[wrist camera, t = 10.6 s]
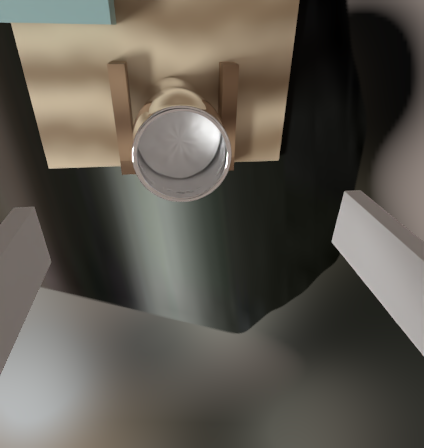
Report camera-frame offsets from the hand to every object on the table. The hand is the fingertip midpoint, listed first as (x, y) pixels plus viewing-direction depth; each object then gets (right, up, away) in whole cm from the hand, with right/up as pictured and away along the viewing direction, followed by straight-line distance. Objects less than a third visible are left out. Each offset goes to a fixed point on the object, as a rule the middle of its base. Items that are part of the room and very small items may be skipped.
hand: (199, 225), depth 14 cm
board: (-4, +15, +19) cm, 25 cm away
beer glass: (-4, +12, +20) cm, 24 cm away
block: (-12, +19, +14) cm, 26 cm away
